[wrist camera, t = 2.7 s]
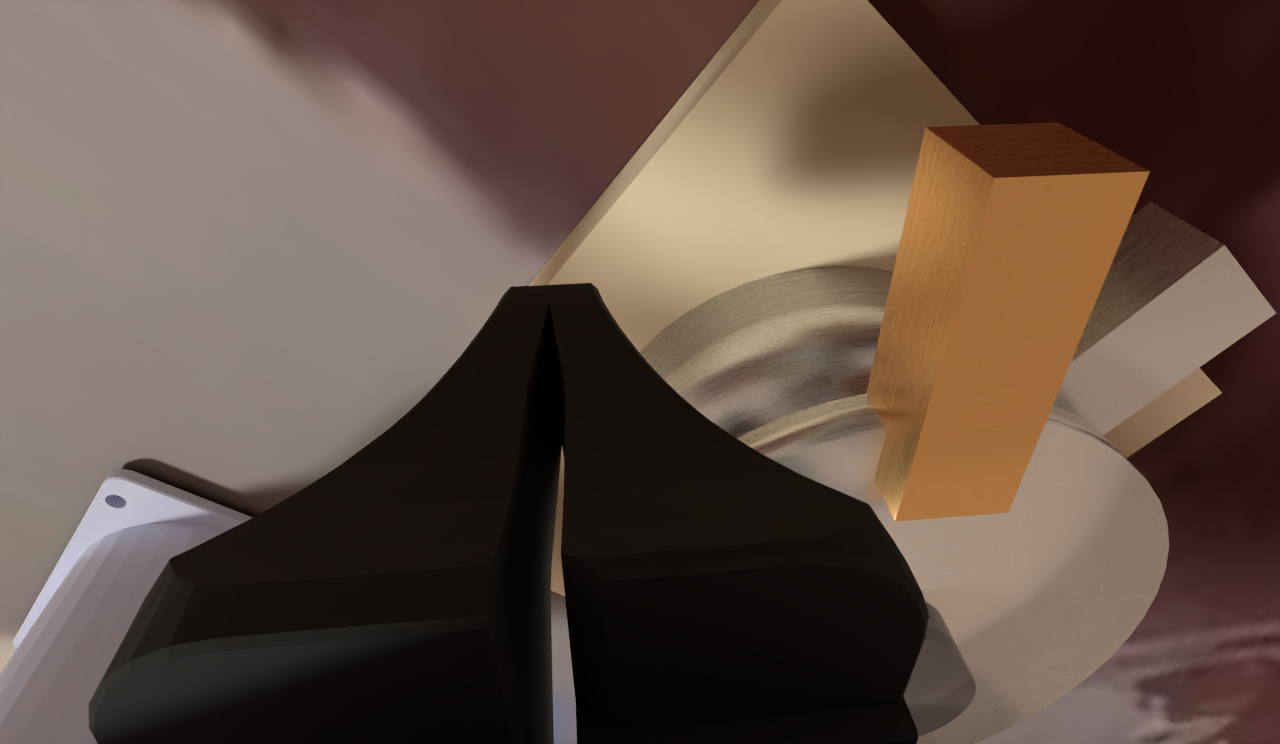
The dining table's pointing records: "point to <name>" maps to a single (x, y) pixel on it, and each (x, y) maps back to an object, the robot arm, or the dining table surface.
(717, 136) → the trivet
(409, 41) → the dining table surface
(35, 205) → the dining table surface
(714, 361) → the pot
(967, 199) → the lid with handle
